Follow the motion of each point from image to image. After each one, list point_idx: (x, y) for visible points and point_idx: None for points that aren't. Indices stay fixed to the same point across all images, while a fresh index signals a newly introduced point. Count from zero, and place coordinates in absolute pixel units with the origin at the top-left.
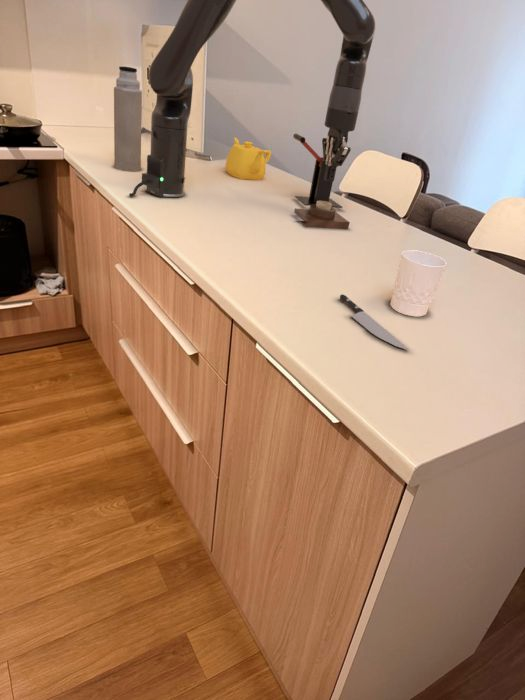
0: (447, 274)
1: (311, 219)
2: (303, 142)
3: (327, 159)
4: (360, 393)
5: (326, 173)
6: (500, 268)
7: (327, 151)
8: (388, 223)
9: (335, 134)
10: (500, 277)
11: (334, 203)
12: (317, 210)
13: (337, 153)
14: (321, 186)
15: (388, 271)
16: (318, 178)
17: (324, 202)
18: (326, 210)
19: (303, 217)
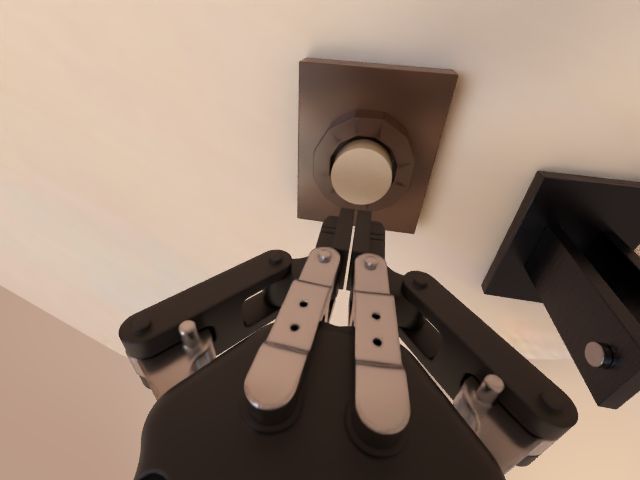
0: (69, 258)
1: (305, 83)
2: None
3: (363, 274)
4: None
5: (349, 225)
6: None
7: (355, 303)
8: None
9: (269, 461)
10: (102, 329)
11: (525, 290)
12: (330, 127)
13: (196, 300)
14: (569, 277)
15: (14, 140)
16: (605, 288)
17: (363, 180)
18: (327, 164)
19: (344, 64)
